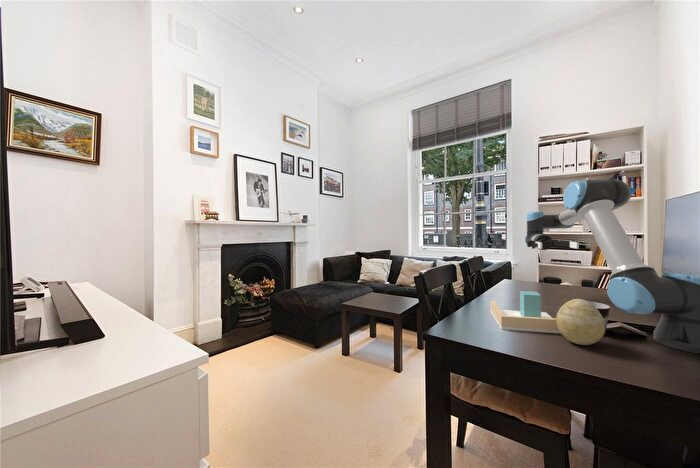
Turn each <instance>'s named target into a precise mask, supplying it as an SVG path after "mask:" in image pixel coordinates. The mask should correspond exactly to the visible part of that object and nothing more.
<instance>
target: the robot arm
mask: <svg viewBox="0 0 700 468" xmlns="http://www.w3.org/2000/svg"><path fill="white" fill-rule="evenodd" d="M631 197H632V189H631V187H630V186H629V185H628V184H627V183H626V182H625V181H624V180H623V181H622V180H620V179H616V178H612V179H611V178H609V179H608V178H607V179H581V180H574V181H572V182H570V183H569V184H568V185H567V186H566V188H565V189H564V193H563V199H562V201H563V206H564V207H565V209H566V210H564V211H562V212H560V213H557V214H544V211H528V212H527V214H526V235H525V237H524V243H525V244H526V247H527V248H531V249H533V250H534V249H537V250H539V251H547V250H549V249H551V248H558V247H563V248H564V247H566V248H572V249H576V250H579V249H580V248H579V247H580V243H579V241H578V240H574V239H571V240H563V239H553V238H552V237H551V236H549V235H547V234H544V231H545V230H550V229H552V230H553V229H555V230H556V229H560V230H562V229H563V230H564V229H566V230H567V229H571V228H573V227H574V225H576V223H578V222H581V221H583V220H585V222H586V224H587V226H588V228H589V230H590V232H591V234H592V236H593V238H594V240H595V241H596V244H597V245H598V247H599V250H600V251H601V253H602V255H603V257H604V259H605V260H606V264H607V265H608V267H609V268H610V270H611V274H610V275H609V278H608V279H609V281H608V282H607V285H606V288H607V290H606V293H607V296H608V297H609V300H610V302H611V303H612V304H613V305H614V306H615V307H616V308H618V310H621V311H623V312H625V313H629V314H638V315H654V314H657V315H659V314H660V315H661V316H660V319H659V321H658V323H657V325H655V328H654V330H653V337H652V338H653V340H654V341H656V342H658V343H660V345H663V346H666V347H668V348H672V349H675V350H680V351H684V352H688V353H693V354H699V355H700V275H696V274H691V273H682V272H673V271H663V272H662V274H661V276H659V275H658V272H657V271H656V269H655V268H654V267H653V266H649V265H647V264H645V263H644V262H643V260H642V258H641V255H639V252H638V251H637V249H636V248H635V246H634V244H633V243H632V240H631V239H630V238H629V236H628V234H627V232H626V231H625V229H624V228H623V226H622V224H621V223H620V221H619V219H618V217H617V216H616V214H615V212H614V210H616V209H619V208H621V207H623V206H625V205H626V204H628V203H629V201H630V200H631Z"/></svg>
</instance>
